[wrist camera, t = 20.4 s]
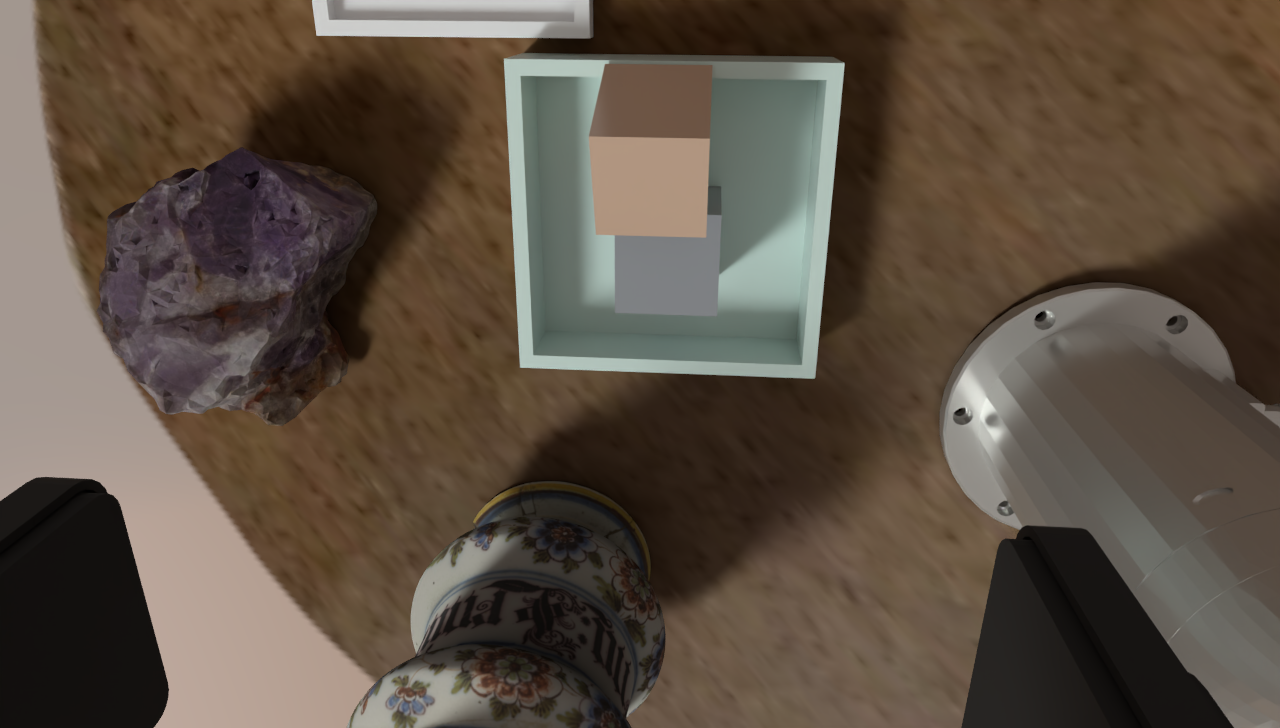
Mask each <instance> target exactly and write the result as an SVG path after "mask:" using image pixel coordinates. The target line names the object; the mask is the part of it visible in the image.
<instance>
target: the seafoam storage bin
mask: <svg viewBox="0 0 1280 728" xmlns="http://www.w3.org/2000/svg"><path fill="white" fill-rule="evenodd" d="M605 64H658V65H713V66H712V94H711V122H710V150H709V177H708V186H721V202H722V219H721V241H720V263H719V285H718V307H717V317H716V316H688V315H660V314H632V313H615V235H596V229H595V216H594V202H593V189H592V175H591V161H590V148H589V133H590V128H591V124H592V119H593V115H594V111H595V106H596V102H597V97H598V93H599V88H600V84H601V79H602V75H603V71H604V66H605ZM844 66H845V63H844V62H842V61H840V60H838V59H836V58H834V57H815V56H730V55H645V54H560V53H522V54H519V55H515V56H512V57H509V58H505V59H504V68H505V87H506V107H507V126H508V145H509V164H510V183H511V202H512V221H513V240H514V259H515V278H516V297H517V316H518V335H519V354H520V368H546V369H573V370H599V371H625V372H651V373H678V374H704V375H730V376H757V377H783V378H809V379H815V374H816V363H817V353H818V342H819V332H820V321H821V310H822V300H823V289H824V278H825V268H826V257H827V246H828V236H829V225H830V215H831V204H832V193H833V183H834V172H835V161H836V151H837V140H838V129H839V119H840V108H841V97H842V87H843V76H844Z"/></svg>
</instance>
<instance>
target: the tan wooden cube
mask: <svg viewBox="0 0 1280 728" xmlns="http://www.w3.org/2000/svg"><path fill="white" fill-rule="evenodd" d="M712 66H713V65H658V64H605V66H604V71H603V75H602V79H601V84H600V88H599V93H598V97H597V102H596V106H595V111H594V115H593V119H592V124H591V128H590V133H589V148H590V161H591V175H592V189H593V202H594V216H595V229H596V235H624V236H662V237H700V238H706V230H707V203H708V177H709V150H710V122H711V94H712Z"/></svg>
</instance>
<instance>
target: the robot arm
mask: <svg viewBox="0 0 1280 728" xmlns="http://www.w3.org/2000/svg"><path fill="white" fill-rule="evenodd" d="M1042 311H1043V314H1042V316H1041V317H1039V318H1035V317H1036V315H1037V314H1039V313H1040V312H1042ZM1170 318H1172V319H1171V320H1170V321H1168V320H1169V319H1170ZM959 408H963V409H962V410H961V411H959V412H955V411H956V410H958V409H959ZM940 439H941V443H942V448H943V452H944V456H945V458H946V461H947V463H948V465H949V467H950V469H951V472H952V474H953V476H954V477H955V479H956V481H957V482H958V484H959V485H960V487H961V488H962V490H963V491H964V493H965V494H966V495H967V496H968V497H969V498H970V499H971V500H972V501H973V502H974V503H975V504H976V505H977V506H978V507H979V508H980V509H981V510H982V511H984V512H985V513H987V514H988V515H990V516H991V517H993V518H994V519H996V520H997V521H999V522H1001V523H1004V524H1006V525H1009V526H1011V527H1014V528H1016V529H1019V530H1020V531H1019V533H1018V534H1017V537H1016V539H1004V540H1002V541H1001V543H1000V545H999V547H998V551H997V555H996V560H995V565H994V570H993V575H992V580H991V584H990V589H989V594H988V599H987V604H986V609H985V614H984V619H983V624H982V629H981V634H980V639H979V644H978V649H977V654H976V659H975V664H974V669H973V674H972V679H971V683H970V688H969V693H968V698H967V703H966V708H965V713H964V718H963V723H962V728H1280V404H1274V405H1264V404H1263V403H1262V402H1260V401H1259V400H1258V399H1256V398H1255V397H1254V396H1252V395H1251V394H1250V393H1248V392H1247V391H1245V390H1244V389H1243V388H1241V387H1240V386H1239V385H1237V384H1236V381H1235V372H1234V369H1233V366H1232V363H1231V360H1230V357H1229V354H1228V352H1227V349H1226V348H1225V346H1224V345H1223V343H1222V342H1221V340H1220V339H1219V337H1218V336H1217V334H1216V333H1215V331H1214V330H1213V329H1212V328H1211V327H1210V326H1209V325H1208V324H1207V323H1206V322H1205V321H1204V320H1203V319H1201V318H1200V317H1199V316H1198V315H1197V314H1196V313H1195V312H1193V311H1192V310H1190V309H1189V308H1187V307H1186V306H1184V305H1183V304H1181V303H1180V302H1178V301H1177V300H1175V299H1173V298H1170V297H1168V296H1166V295H1164V294H1161V293H1159V292H1157V291H1154V290H1152V289H1149V288H1144V287H1140V286H1135V285H1130V284H1126V283H1105V282H1093V283H1086V284H1079V285H1072V286H1066V287H1063V288H1059V289H1056V290H1053V291H1050V292H1047V293H1044V294H1041V295H1038V296H1036V297H1034V298H1032V299H1030V300H1028V301H1026V302H1024V303H1022V304H1020V305H1018V306H1016V307H1014V308H1012V309H1010V310H1009V311H1008V312H1006V313H1005V314H1004V315H1002V316H1001V317H999V318H998V319H997V320H995V321H994V322H993V323H991V324H990V325H988V326H987V328H986V329H985V330H984V331H983V332H982V333H981V334H980V335H979V336H978V337H977V338H976V339H975V340H974V341H973V342H972V343H971V344H970V345H969V346H968V348H967V349H966V351H965V352H964V354H963V355H962V356H961V358H960V359H959V361H958V362H957V364H956V365H955V367H954V369H953V371H952V374H951V376H950V378H949V380H948V383H947V385H946V387H945V390H944V394H943V399H942V404H941V408H940ZM168 691H169V688H168V682H167V678H166V674H165V670H164V666H163V663H162V659H161V655H160V652H159V648H158V644H157V641H156V637H155V634H154V629H153V626H152V622H151V618H150V615H149V611H148V607H147V603H146V600H145V596H144V592H143V588H142V585H141V581H140V577H139V574H138V570H137V566H136V562H135V559H134V555H133V551H132V547H131V544H130V540H129V537H128V532H127V529H126V525H125V522H124V518H123V514H122V510H121V507H120V504H119V502H118V500H117V499H116V498H115V497H114V496H113V495H110V494H108V493H107V491H106V489H105V488H104V487H103V486H102V485H101V483H99V482H97V481H95V480H92V479H74V478H53V477H41V478H35V479H33V480H31V481H29V482H27V483H25V484H24V485H23V486H22V487H20V488H18V489H17V490H16V491H14V492H13V493H11V494H10V495H8V496H7V497H6V498H4V499H3V500H2V501H0V728H154V727H155V725H156V724H157V723H158V721H159V720H160V718H161V716H162V715H163V712H164V710H165V707H166V704H167V700H168Z"/></svg>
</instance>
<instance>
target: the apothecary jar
mask: <svg viewBox="0 0 1280 728" xmlns="http://www.w3.org/2000/svg"><path fill="white" fill-rule="evenodd" d="M473 524H474V526H475V529H473V530H471V531H469V532H467V533H465V534H464V535H462V536H460V537H459V538H457V539H456V540H455V541H453V542H452V543H451V544H449V545H448V546H447V547H446V548H445V549H444V550H443V551H442V552H441V553H440V554H439V555H438V556H437V557H436V558H435V559H434V560H433V561H432V563H431V564H430V565H429V566H428V568H427V569H426V571H425V572H424V574H423V576H422V577H421V579H420V581H419V584H418V586H417V589H416V592H415V595H414V599H413V603H412V609H411V632H412V639H413V644H414V648H415V651H416V656H415V657H414V658H412V659H410V660H408V661H406V662H404V663H402V664H400V665H399V666H397V667H396V668H394V669H392V670H391V671H389V672H388V673H387V674H386V675H384V676H383V677H382V678H381V679H380V680H378V681H377V682H376V683H375V684H374V685H373V686H372V687H371V688H370V689H369V691H368V692H367V693H366V694H365V696H364V697H363V698H362V700H361V701H360V702H359V704H358V705H357V707H356V709H355V710H354V713H353V714H352V716H351V718H350V720H349V723H348V725H347V728H631V726H630V724H629V723H628V721H627V719H626V717H628V716H629V715H630V714H631V713H632V712H634V711H635V710H636V709H637V708H638V707H639V706H640V705H641V704H642V703H643V701H644V700H645V699H646V697H647V696H648V694H649V693H650V691H651V690H652V688H653V686H654V684H655V682H656V680H657V678H658V675H659V672H660V669H661V666H662V662H663V658H664V651H665V626H664V620H663V615H662V611H661V607H660V604H659V601H658V599H657V596H656V594H655V592H654V589H653V587H652V586H651V584H650V582H649V578H650V571H651V562H650V555H649V550H648V546H647V543H646V540H645V538H644V536H643V534H642V532H641V530H640V528H639V527H638V525H637V524H636V523H635V521H634V520H633V519H632V517H631V516H630V515H629V514H628V513H627V512H626V511H625V510H624V509H623V508H622V507H621V506H620V505H618V504H617V503H616V502H614V501H613V500H612V499H610V498H608V497H607V496H605V495H603V494H601V493H599V492H597V491H595V490H593V489H590V488H587V487H585V486H581V485H578V484H574V483H568V482H561V481H537V482H531V483H525V484H522V485H519V486H516V487H513V488H511V489H508V490H506V491H504V492H503V493H501V494H499V495H498V496H496V497H494V498H493V499H492V500H491V501H490V502H488V503H487V504H486V505H485V506H484V507H483V508H482V510H481V511H480V512H479V513H478V515H477V516H476V518H475V519H474V521H473Z"/></svg>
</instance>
